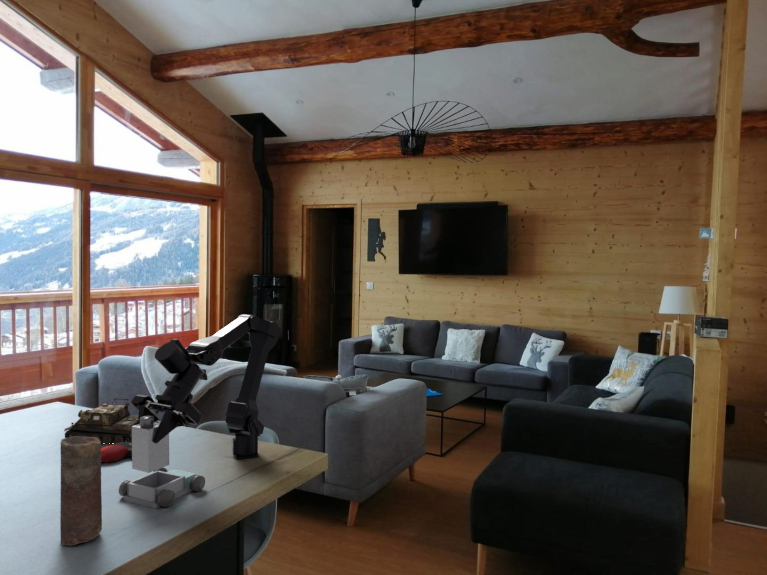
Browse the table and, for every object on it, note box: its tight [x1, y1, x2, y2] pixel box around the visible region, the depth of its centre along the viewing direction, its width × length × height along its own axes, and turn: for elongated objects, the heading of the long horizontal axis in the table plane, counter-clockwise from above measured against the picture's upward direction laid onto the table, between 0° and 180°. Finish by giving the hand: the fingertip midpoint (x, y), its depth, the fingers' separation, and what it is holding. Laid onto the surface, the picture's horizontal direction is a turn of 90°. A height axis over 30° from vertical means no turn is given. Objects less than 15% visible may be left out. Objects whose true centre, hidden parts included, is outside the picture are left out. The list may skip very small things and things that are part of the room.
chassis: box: [118, 467, 206, 509], centre depth 139 cm, size 14×14×4 cm
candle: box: [59, 436, 103, 547], centre depth 116 cm, size 8×7×20 cm
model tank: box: [63, 396, 138, 446], centre depth 181 cm, size 13×22×15 cm, turn 86°
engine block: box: [131, 416, 170, 474], centre depth 138 cm, size 6×6×12 cm
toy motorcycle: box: [101, 441, 132, 463], centre depth 164 cm, size 25×5×16 cm
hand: (145, 440), depth 137 cm, fingers closed on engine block, 5 cm apart
